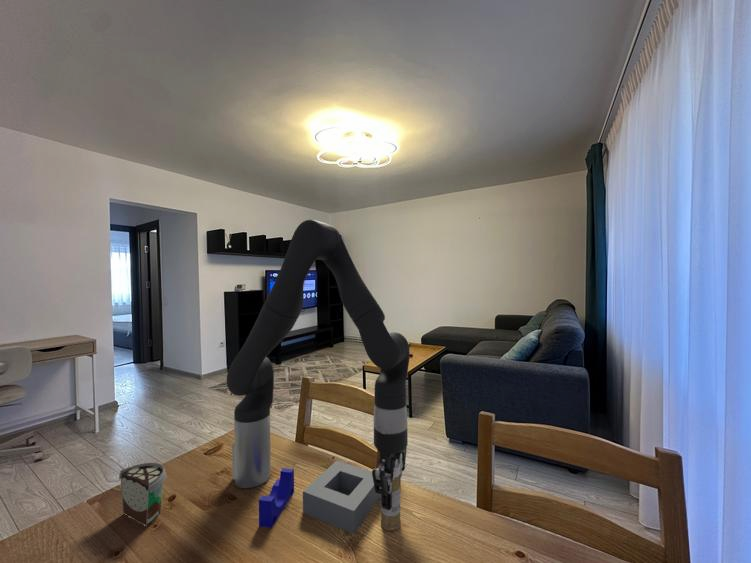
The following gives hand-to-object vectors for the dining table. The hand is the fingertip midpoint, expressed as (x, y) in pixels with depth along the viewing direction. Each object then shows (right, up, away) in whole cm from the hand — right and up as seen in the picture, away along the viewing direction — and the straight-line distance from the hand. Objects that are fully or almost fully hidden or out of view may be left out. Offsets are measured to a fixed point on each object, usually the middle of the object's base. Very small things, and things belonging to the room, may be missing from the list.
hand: (391, 500), depth 69 cm
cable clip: (-28, -6, +6) cm, 29 cm away
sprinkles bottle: (0, -5, 0) cm, 5 cm away
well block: (-11, -5, +7) cm, 14 cm away
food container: (-57, -6, +5) cm, 58 cm away
